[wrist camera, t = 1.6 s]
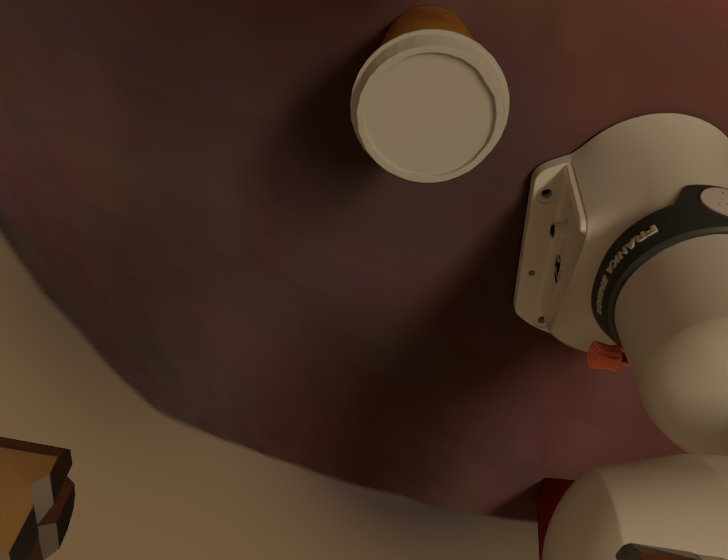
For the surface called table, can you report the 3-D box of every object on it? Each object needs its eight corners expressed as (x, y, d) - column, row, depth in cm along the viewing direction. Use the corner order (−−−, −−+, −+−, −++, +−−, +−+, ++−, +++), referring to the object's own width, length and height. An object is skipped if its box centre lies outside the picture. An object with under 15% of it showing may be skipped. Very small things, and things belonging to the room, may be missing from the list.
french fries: (526, 507, 82) (545, 635, 70) (541, 463, 77) (564, 592, 65) (601, 513, 82) (632, 642, 70) (620, 470, 77) (658, 600, 65)
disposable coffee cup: (336, 66, 51) (318, 137, 42) (412, -50, 46) (410, 1, 37) (439, 134, 54) (444, 215, 45) (521, 32, 49) (546, 98, 40)
